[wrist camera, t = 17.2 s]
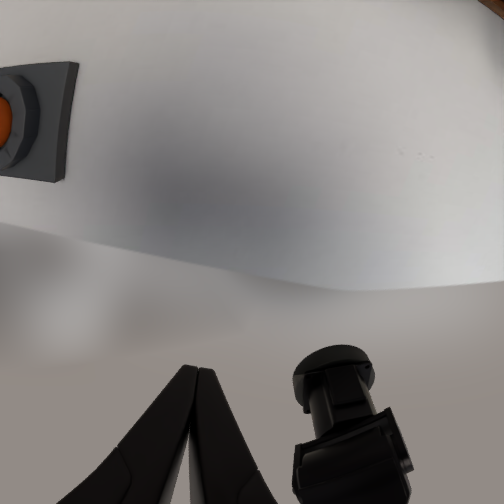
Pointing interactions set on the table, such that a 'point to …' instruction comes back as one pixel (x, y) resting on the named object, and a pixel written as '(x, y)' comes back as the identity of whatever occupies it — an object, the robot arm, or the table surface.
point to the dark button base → (37, 119)
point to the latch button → (5, 121)
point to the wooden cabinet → (495, 6)
